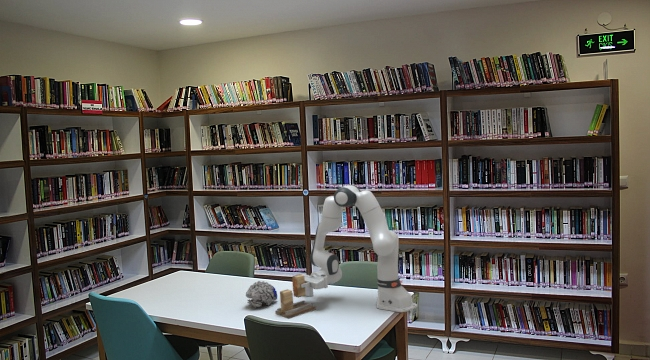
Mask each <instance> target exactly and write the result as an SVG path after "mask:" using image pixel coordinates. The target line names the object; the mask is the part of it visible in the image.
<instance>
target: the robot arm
mask: <svg viewBox="0 0 650 360" xmlns="http://www.w3.org/2000/svg"><path fill="white" fill-rule="evenodd" d="M324 199H325V200H324V202H323V206H322V212H321V220H320V221H319V223H318V224H317V226H316V230H315V236H314V241H313V245H312V249H311V253H310V255H309V261H310V263H311V265H312V266H313V267H318V268H320V270H317V271H313V272H311V274H310V275H309V276H307V275H308V274H305V275H304V278H305V283H304V284H300V287H301V288H303V287H309V288H313V290H321V289H322V290H323V289H328V287H329V285H332V284H334V283H336V282H338V281H340V280H341V279H342V276H343V271H342V269H341V267H340V266H339V265H340V260H339V256H338V255H337V254H334V253H331V252H330V251H329V252H328V251H327V250H325V249H324V246H325V243H326V242H325V240H326V236H327V235H328V234H329V233H333V232H336V231H337V230H339V229H340V228H341V225H342V221H343V210H344V208H349V207H354V206H355V207H356V208H357V209H358V210H359V212H360V215H361V217H362V219H363V222H364V223H365V225H366V228H367V229H368V230H367V231H368V234H369V238H370V240H371V242H372V249H373V251H374V253H375V254H376V255H377V256H378V257H377V263H376V267H377V269H376V270H377V278H376V280H377V281H376V286H377V297H376V303H375V305H376V309H379V310H386V311H391V312H397V313H405V312H410V311H412V310H415V309H417V307H418V304H417V303H415V302H413V296H412V294H411V293H410V292H408V290H406V288H405V287H404V286H402V284H403V283H404V282H403V280H400V277H399V265H398V264H399V240H400V239H399V235H398V234H397V233H396V231H393V230H390V229H389V226H388V222H387V217H386V216H385V215H386V214H385V213H384V211H383V210H382V207H381V206H380V203H379V202H378V200H377V198H376V197H375V195H374V193H373V192H372V191H370V190H365V189H364V190H362V191H361V190H360V188H359V187H358V186H357V185H354V184H348V185H343V186H341V187H339V188H337V189H336V190H335V192H334V194H333V195H330V196H327V197H326V198H324Z"/></svg>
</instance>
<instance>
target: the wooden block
mask: <svg viewBox="0 0 650 360" xmlns="http://www.w3.org/2000/svg"><path fill="white" fill-rule="evenodd" d="M291 283H292V293H293V297H295V298H297V299H298V298H301V297H306V296H305V295H306V294H305V287H303V288H301V287H300V284H304V283H305V278H304V275H302V274H301V273H299V274H296V275H292V282H291Z"/></svg>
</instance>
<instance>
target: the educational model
mask: <svg viewBox="0 0 650 360" xmlns="http://www.w3.org/2000/svg"><path fill="white" fill-rule="evenodd" d="M245 297H246V298H248V299H247V302H246V303H247V304H248V305H249V306H251V307H254V309H256V308H260V307H261V306H263V303H264V304H265V305H266V306H268V307H269V306H270V305H271V304H272V303H273V301H276V300H277V299H278V292H277V290H276V288H275V287H274V285H272V284H271V283H269V282H267V281H266V282H265V281H261V280H258V281H255V282H254V283H253V284H251V285H250V286H249V287H248V289H247V290H246V292H245Z"/></svg>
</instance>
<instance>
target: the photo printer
mask: <svg viewBox="0 0 650 360" xmlns="http://www.w3.org/2000/svg"><path fill="white" fill-rule="evenodd" d="M301 275H307V276H310V275H309V274H304V273H303V274H301ZM305 294H306V295H305V296H304V297H309V298H310V297H311V298H312V297H313V296H314V289H313V288H309V287H305Z"/></svg>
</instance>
